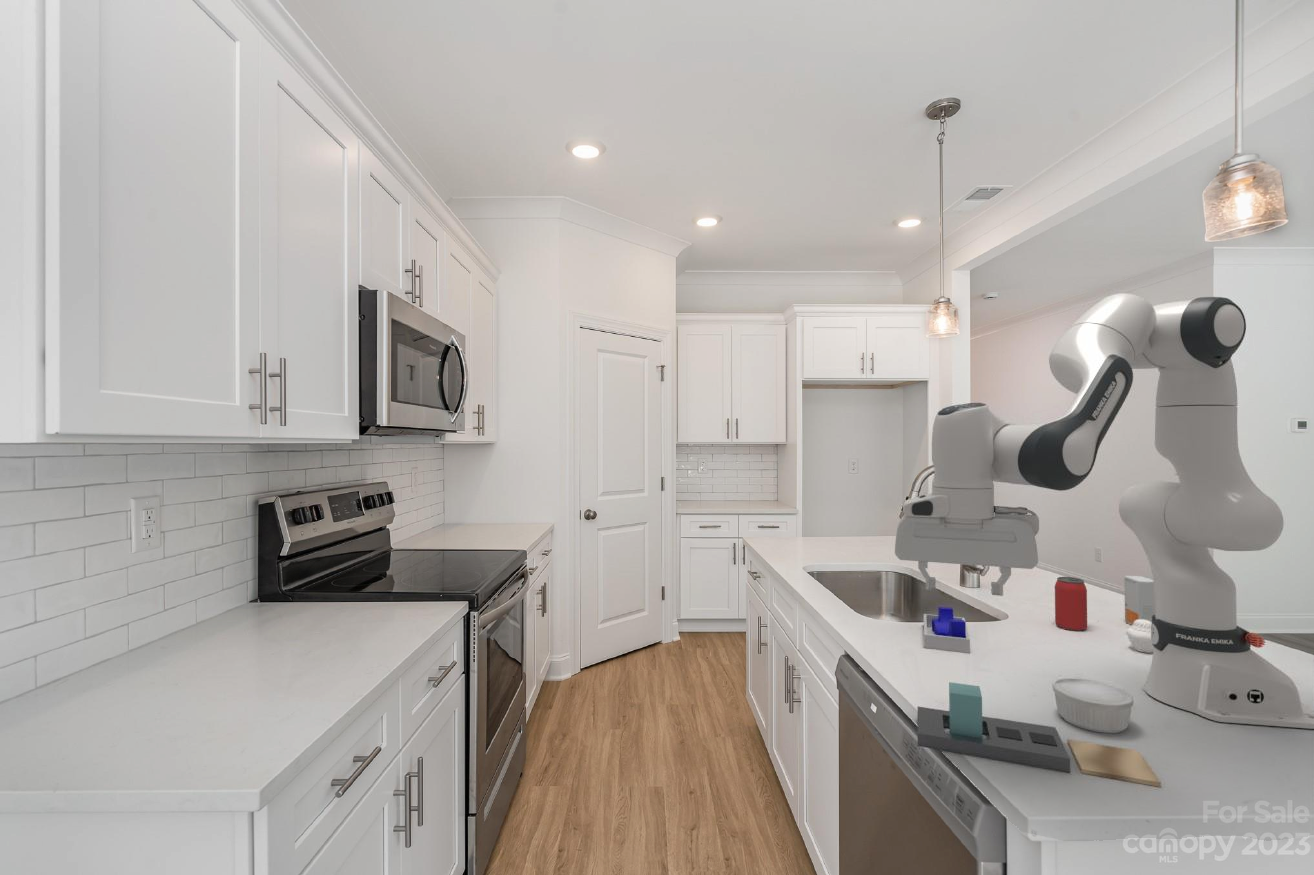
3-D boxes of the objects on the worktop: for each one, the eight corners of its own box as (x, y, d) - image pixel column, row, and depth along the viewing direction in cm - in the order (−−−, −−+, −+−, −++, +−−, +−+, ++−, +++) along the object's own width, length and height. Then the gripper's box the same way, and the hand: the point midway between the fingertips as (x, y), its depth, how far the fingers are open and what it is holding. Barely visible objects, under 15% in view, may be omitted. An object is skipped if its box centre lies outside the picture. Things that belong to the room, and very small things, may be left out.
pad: (1138, 754, 90) (1138, 750, 90) (1160, 787, 82) (1160, 782, 82) (1067, 743, 94) (1067, 739, 94) (1081, 773, 86) (1081, 768, 86)
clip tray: (964, 629, 149) (964, 617, 149) (969, 653, 133) (969, 639, 133) (923, 625, 153) (923, 613, 153) (924, 647, 137) (924, 634, 137)
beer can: (1093, 631, 146) (1093, 582, 146) (1066, 631, 146) (1065, 582, 146) (1075, 623, 153) (1074, 576, 153) (1049, 623, 153) (1048, 576, 153)
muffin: (1162, 649, 134) (1161, 618, 134) (1162, 657, 129) (1161, 624, 129) (1126, 643, 138) (1126, 613, 138) (1125, 651, 133) (1125, 619, 133)
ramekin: (1083, 702, 109) (1082, 673, 109) (1151, 730, 98) (1150, 698, 98) (1036, 712, 105) (1036, 681, 105) (1102, 742, 94) (1101, 709, 94)
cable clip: (931, 630, 149) (931, 606, 149) (951, 631, 148) (951, 607, 148) (944, 647, 137) (944, 621, 137) (965, 648, 136) (965, 622, 136)
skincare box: (1123, 622, 153) (1123, 575, 153) (1142, 623, 152) (1141, 575, 152) (1139, 630, 147) (1139, 581, 147) (1159, 630, 146) (1158, 581, 146)
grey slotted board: (1055, 740, 95) (1055, 726, 95) (1070, 772, 86) (1069, 758, 86) (917, 718, 103) (917, 705, 103) (917, 745, 94) (917, 732, 94)
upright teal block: (979, 735, 97) (979, 686, 97) (982, 749, 93) (981, 697, 93) (949, 730, 99) (948, 682, 99) (950, 743, 95) (950, 692, 94)
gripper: (1035, 505, 94) (1036, 593, 94) (895, 500, 103) (896, 581, 103) (1042, 509, 89) (1043, 603, 89) (893, 504, 97) (894, 590, 97)
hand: (963, 591), depth 96 cm, fingers open, 8 cm apart
